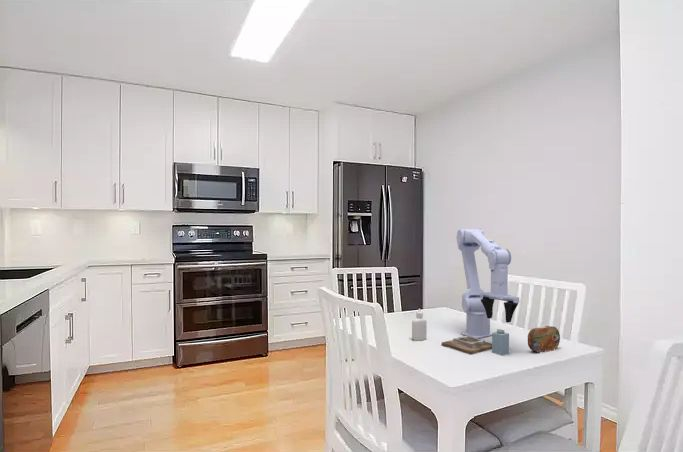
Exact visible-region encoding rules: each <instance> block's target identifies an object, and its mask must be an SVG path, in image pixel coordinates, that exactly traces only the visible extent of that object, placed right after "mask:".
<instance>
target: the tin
mask: <svg viewBox="0 0 683 452" xmlns="http://www.w3.org/2000/svg"><path fill="white" fill-rule="evenodd" d="M560 343H561V334H560V331H559V329H558V328H557V327H556V326H551V325H545V326H540V327H539V326H538V327H533V328H531V329H530V331H528V334H527V345H528V348H529V350H531V351H533V352H536V353H539V354H541V353H540V352H542V353H546V352H549V351H550V350H551V351H554V349H555V350H556V349H557V348H558V347H559V345H560ZM545 351H546V352H545Z"/></svg>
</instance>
